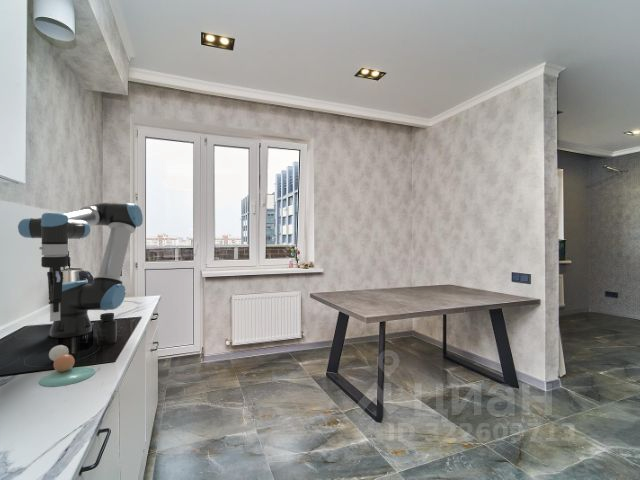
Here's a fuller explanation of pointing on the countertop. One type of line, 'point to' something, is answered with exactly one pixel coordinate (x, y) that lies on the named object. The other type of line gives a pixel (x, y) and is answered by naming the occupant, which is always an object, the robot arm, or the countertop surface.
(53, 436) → the countertop surface
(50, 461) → the countertop surface
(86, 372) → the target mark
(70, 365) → the object ball
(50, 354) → the cue ball
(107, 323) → the supplement bottle
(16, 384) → the countertop surface
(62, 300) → the robot arm
